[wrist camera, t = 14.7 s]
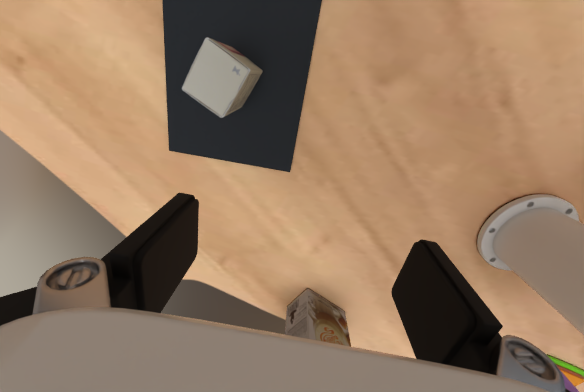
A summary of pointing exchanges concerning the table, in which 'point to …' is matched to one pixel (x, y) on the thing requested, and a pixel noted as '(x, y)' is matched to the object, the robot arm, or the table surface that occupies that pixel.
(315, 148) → the table surface
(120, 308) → the robot arm
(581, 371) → the miniature room corner
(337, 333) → the coffee box
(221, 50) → the small box
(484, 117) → the table surface
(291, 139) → the desk mat
